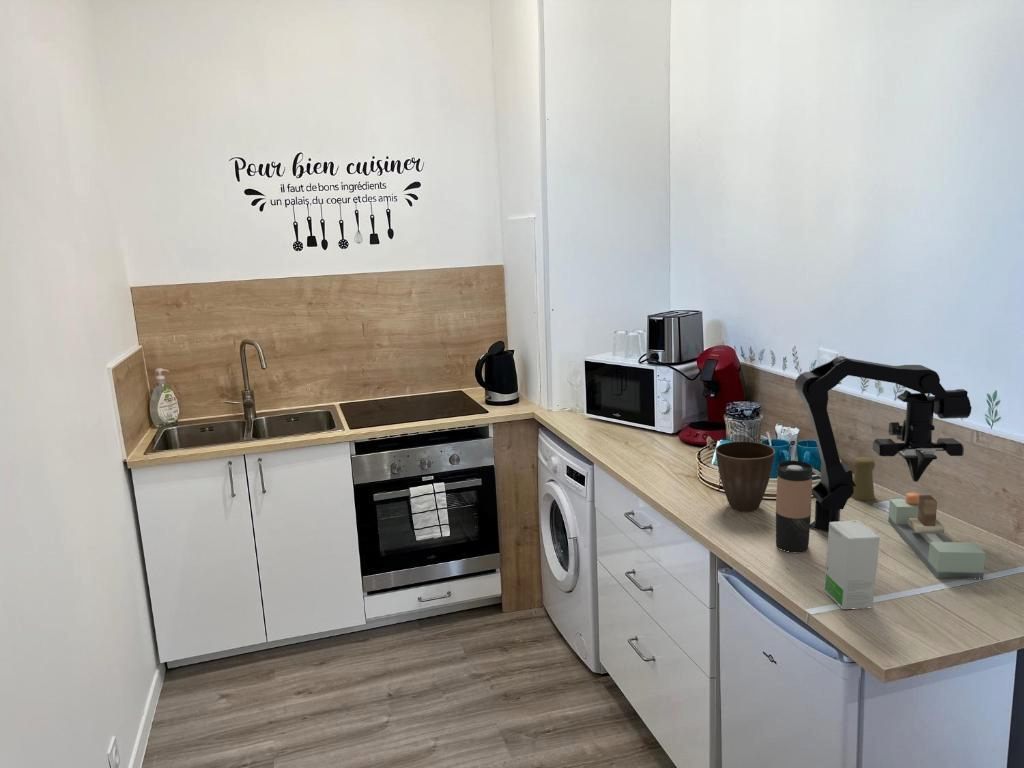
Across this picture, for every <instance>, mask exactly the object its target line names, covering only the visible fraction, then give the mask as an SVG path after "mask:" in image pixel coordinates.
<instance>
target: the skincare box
mask: <svg viewBox="0 0 1024 768" xmlns="http://www.w3.org/2000/svg"><path fill="white" fill-rule="evenodd" d="M880 540H881V539H880V536H879V535H877V534H876V533H875V532H873V531H872V530H871V527H869V526H866V525H865V524H863V523H862V522H861V521H860V520H859V519H853V520H842V521H841V520H840V521H838V522H829V532H828V537H827V549H826V559H825V560H826V561H825V571H824V572H825V573H824V585H823V591H824V593H825V594H827V596H830V597H831V598H832V599H833V600H834V601H836V602H837V603H838V604H839V605H840V606H841V607H842V608H843V609H852V608H867V609H869V608H868V607H873V608H874V596H875V586H876V578H877V568H878V567H877V566H878V559H879V547H880ZM830 597H829V598H830ZM831 598H830V599H831ZM834 601H833V602H834Z"/></svg>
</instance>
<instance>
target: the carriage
mask: <svg viewBox="0 0 1024 768" xmlns="http://www.w3.org/2000/svg"><path fill="white" fill-rule="evenodd" d="M937 509H938V501H937V500H936V499H935V498H934V497H933V496H932V495H931V494H930V495H929V494H920V495H919V507H918V518H909V520H908V524H909V525H910V527H911V528H912V529H913V530H914V531H915V532H916V533H944V534H945V526H944V525H943V523H941V522H940V521H939V520H938V519H937V512H938V511H937ZM936 511H937V512H936Z"/></svg>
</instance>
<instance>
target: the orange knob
mask: <svg viewBox="0 0 1024 768" xmlns="http://www.w3.org/2000/svg"><path fill="white" fill-rule="evenodd" d="M919 495H921V494H920V493H917V492H907V493H906V494H905V499H906V503H907V504H910V505H919Z"/></svg>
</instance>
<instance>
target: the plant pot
mask: <svg viewBox="0 0 1024 768" xmlns="http://www.w3.org/2000/svg"><path fill="white" fill-rule="evenodd" d="M775 450H776V449H774V448H773V447H771V446H770V445H768V444H764V443H759V442H755V441H729V442H724V443H721V444H719V445H717V446H716V447H715V456H716V463H717V469H718V474H719V477H720V481H721V485H722V488H723V491H724V494H725V496H726V499H727V503H728V505H729V507H730V509H732V510H734V511H738V512H743V513H744V512H746V513H747V512H755V511H757V510H758V509H759V507H760V505H761V504H762V501H763V498H764V496H765V494H766V491H767V488H768V483H769V481H770V477H771V475H772V474H771V473H772V469H773V465H774V460H775V452H776V451H775Z"/></svg>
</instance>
